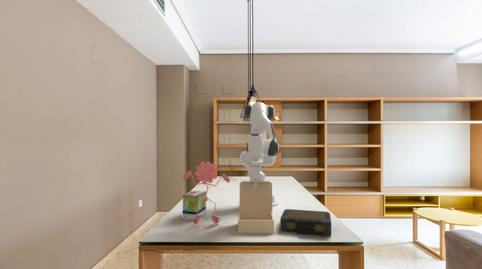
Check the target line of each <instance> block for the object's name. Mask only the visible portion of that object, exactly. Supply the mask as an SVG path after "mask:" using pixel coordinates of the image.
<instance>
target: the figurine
mask: <svg viewBox="0 0 482 269" xmlns="http://www.w3.org/2000/svg"><path fill="white" fill-rule="evenodd" d="M215 167H216V164H215V163H211V162H210V161H206V162H204V161H201V162H200V164H199V165H197V166H196V171H194V175H195V176H196V178H197V181H201V182H200V183H196V182H195V180H194V176H193V174H192V170H187V172H185V173H184V174H183V176H182V178H183V181H185V180H186V179H189V178H190V177H191V179H192V182H193V184H194V186H195V185H206V187H207V188H206V196H205V197H204V198H203V200H204V201H206V202H207V201H210V202H211V203H213V204H214V211H216V208H217V204H216V202H214V201H213V200H211V199H209V197H208V196H207V194H208V191H209V186H212V187H217V185H218V184H219V182H220V181H221V180H222V179H223V180H224V181H225V182H227V183H228V184H229V183H230V181H231V179H230V178H229V176H228V175H226V174H225V173H223V174H222V175H221V177H220V178H219V180H218V181H217V182H216V184H211V183H213V180H214V179H215V180H216V179H217V178H218V175H217V173H218V169H217V168H215ZM203 200H201V201H203ZM201 201H200V202H201ZM200 202H199V203H200ZM197 204H198V203H197ZM197 204H196V211H197ZM201 221H202V219H201V218H200V216H198V214H197V216H196V217H195V218H194V220H192V221H191V222H189V223H190V224H191V223H193V224H194V225H196V228H199V222H201ZM211 221H213V228H216V224H217V225H218V224H219V222H220V218H219V216H217V215H216V213H214V214H213V215H212V216H211Z"/></svg>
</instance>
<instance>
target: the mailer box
mask: <svg viewBox="0 0 482 269" xmlns="http://www.w3.org/2000/svg"><path fill="white" fill-rule="evenodd" d="M238 214H239V215H238V218H237V233H238V234H275V218H274V215H273V211H272V212H239V213H238Z"/></svg>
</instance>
